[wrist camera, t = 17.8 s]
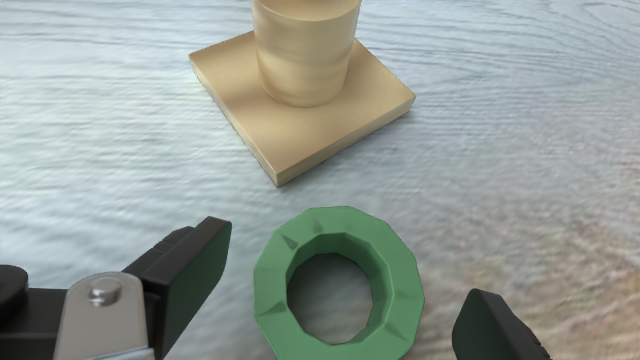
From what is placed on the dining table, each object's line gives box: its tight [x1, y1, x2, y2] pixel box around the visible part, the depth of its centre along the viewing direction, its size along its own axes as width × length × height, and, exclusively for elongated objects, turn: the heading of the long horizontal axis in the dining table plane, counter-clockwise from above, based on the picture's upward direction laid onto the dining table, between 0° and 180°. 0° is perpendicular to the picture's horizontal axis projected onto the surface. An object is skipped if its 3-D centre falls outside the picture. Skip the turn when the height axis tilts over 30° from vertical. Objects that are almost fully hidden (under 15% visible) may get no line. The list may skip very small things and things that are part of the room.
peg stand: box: [189, 0, 416, 187], centre depth 15 cm, size 10×10×11 cm
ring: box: [254, 206, 425, 360], centre depth 13 cm, size 6×6×3 cm
